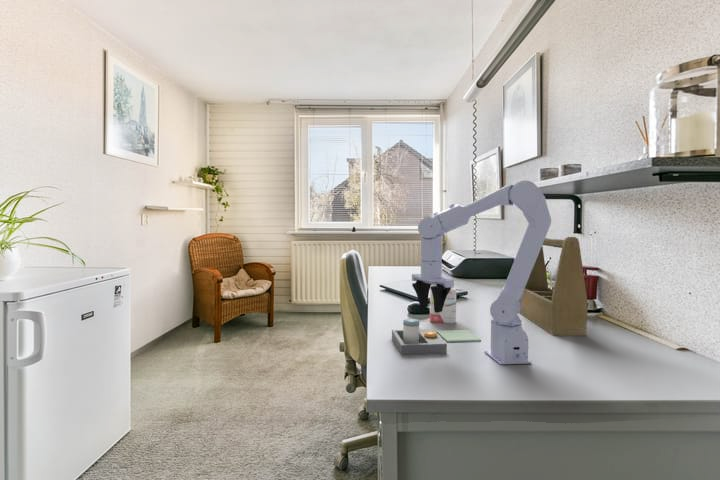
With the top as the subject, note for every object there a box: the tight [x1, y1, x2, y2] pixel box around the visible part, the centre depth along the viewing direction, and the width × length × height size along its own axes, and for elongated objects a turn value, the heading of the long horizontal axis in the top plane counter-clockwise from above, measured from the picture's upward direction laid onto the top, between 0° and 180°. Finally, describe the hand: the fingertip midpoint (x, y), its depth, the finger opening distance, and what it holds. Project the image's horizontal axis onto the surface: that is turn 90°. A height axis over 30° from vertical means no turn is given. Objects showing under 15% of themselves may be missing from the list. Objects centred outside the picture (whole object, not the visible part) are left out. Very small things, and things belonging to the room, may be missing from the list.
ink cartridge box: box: [429, 277, 457, 324], centre depth 132 cm, size 9×5×15 cm, turn 84°
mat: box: [436, 329, 482, 343], centre depth 114 cm, size 10×10×1 cm
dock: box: [391, 328, 448, 356], centre depth 106 cm, size 14×12×2 cm
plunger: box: [424, 331, 438, 338], centre depth 106 cm, size 4×4×3 cm
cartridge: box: [402, 318, 420, 344], centre depth 106 cm, size 4×4×7 cm
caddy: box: [518, 236, 589, 337], centre depth 129 cm, size 29×11×30 cm, turn 176°
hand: (430, 309), depth 106 cm, fingers open, 5 cm apart
